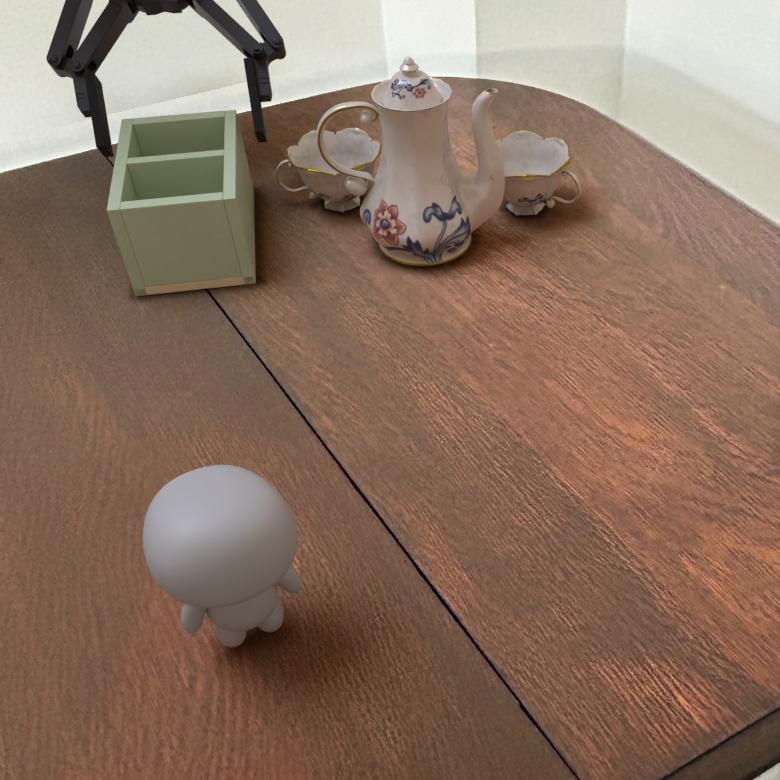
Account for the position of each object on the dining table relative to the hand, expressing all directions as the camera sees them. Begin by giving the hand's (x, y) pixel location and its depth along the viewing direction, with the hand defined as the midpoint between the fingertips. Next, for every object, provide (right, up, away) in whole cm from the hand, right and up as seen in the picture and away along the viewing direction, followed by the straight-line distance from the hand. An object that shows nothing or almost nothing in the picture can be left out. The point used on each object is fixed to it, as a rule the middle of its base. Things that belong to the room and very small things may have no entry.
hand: (183, 145), depth 91 cm
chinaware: (+22, -6, +3) cm, 23 cm away
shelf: (+1, -8, +1) cm, 8 cm away
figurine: (+14, -41, -29) cm, 52 cm away
